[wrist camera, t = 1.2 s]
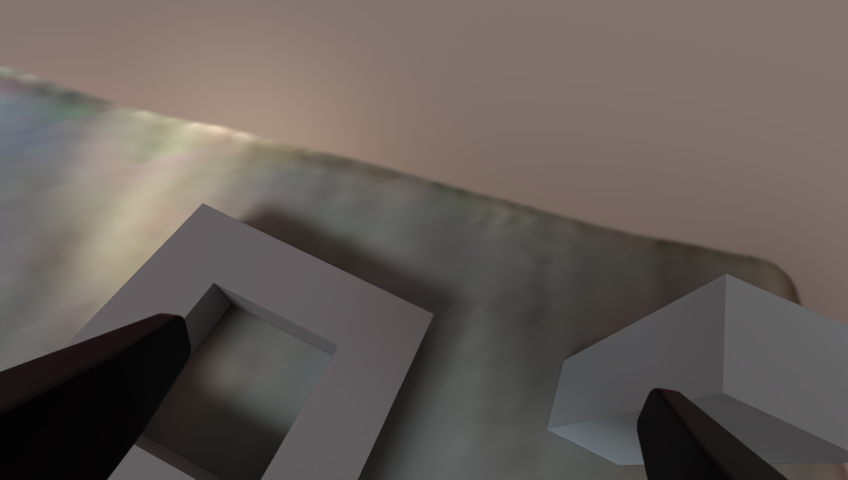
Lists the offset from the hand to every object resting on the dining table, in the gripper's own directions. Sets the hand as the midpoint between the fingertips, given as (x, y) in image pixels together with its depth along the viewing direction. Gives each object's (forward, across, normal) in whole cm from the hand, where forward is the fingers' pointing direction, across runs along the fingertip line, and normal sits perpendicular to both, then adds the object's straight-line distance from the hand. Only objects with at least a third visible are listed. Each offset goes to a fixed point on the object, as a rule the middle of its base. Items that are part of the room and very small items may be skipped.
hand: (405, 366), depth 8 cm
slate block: (+11, -9, +12) cm, 18 cm away
